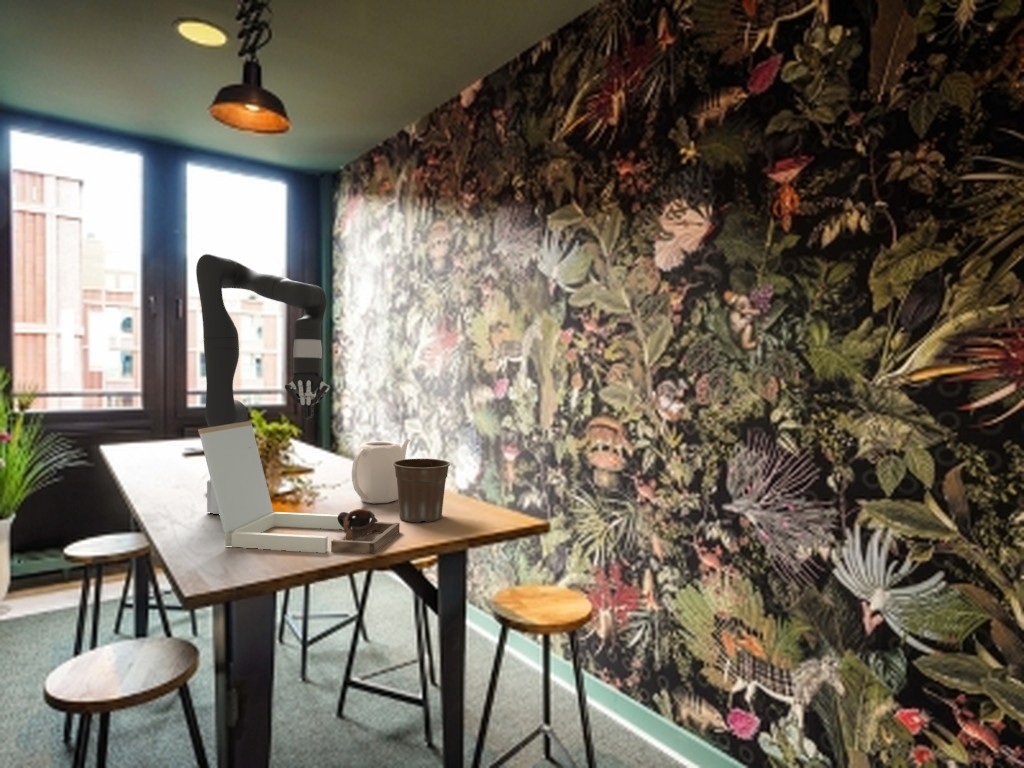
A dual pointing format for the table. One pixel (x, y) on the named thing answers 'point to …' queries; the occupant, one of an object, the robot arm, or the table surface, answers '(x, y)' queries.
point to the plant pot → (421, 488)
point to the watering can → (377, 470)
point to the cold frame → (253, 495)
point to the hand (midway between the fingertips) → (307, 418)
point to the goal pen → (366, 546)
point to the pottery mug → (357, 523)
